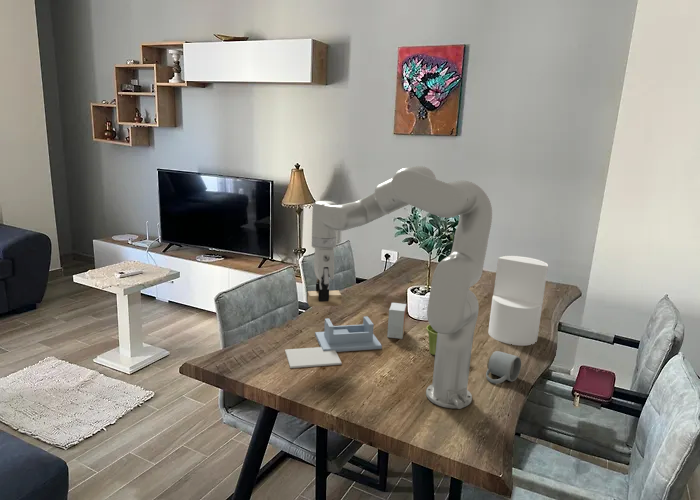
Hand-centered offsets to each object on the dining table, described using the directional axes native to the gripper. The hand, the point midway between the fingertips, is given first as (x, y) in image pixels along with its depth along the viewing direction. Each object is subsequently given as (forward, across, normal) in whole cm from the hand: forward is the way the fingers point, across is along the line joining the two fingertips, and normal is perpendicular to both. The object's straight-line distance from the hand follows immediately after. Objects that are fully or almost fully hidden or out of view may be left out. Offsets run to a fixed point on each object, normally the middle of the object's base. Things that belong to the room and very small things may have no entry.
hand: (322, 297), depth 161 cm
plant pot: (+20, -4, -39) cm, 44 cm away
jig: (+19, +8, -11) cm, 24 cm away
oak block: (+2, 0, -1) cm, 2 cm away
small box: (+20, +13, -30) cm, 38 cm away
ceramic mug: (+20, -23, -52) cm, 60 cm away
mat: (+19, -2, +3) cm, 20 cm away
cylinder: (+20, +7, -73) cm, 76 cm away
